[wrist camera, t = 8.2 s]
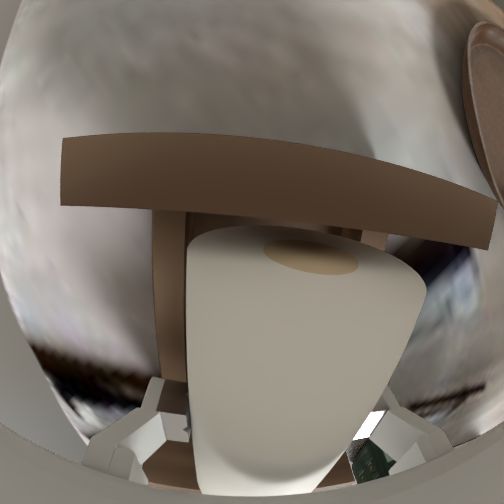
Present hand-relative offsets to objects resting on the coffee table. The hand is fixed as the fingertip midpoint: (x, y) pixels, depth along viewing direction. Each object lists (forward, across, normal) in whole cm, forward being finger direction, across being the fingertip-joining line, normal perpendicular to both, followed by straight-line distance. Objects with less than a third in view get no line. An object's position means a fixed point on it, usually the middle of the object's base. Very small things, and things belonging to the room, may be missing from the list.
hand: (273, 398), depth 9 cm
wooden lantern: (+8, 0, 0) cm, 8 cm away
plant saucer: (+8, -20, -17) cm, 27 cm away
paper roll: (+1, -2, 0) cm, 3 cm away
